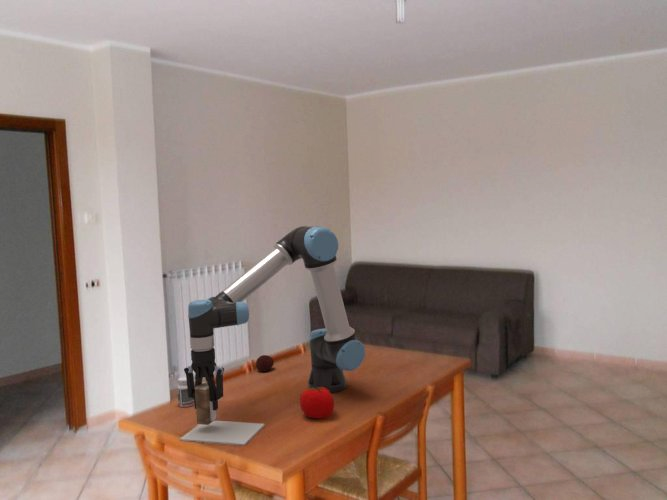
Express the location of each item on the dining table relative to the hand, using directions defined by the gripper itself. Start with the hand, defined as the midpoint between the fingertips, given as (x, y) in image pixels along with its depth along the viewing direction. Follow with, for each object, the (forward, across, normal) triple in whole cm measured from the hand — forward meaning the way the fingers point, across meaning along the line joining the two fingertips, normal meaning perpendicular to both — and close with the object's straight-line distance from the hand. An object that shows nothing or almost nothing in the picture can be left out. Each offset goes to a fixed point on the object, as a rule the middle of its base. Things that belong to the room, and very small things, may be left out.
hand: (207, 418), depth 190 cm
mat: (+4, -6, +1) cm, 7 cm away
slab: (+1, 0, 0) cm, 1 cm away
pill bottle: (+4, +20, -21) cm, 30 cm away
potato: (+4, +8, -66) cm, 67 cm away
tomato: (+4, -32, -18) cm, 37 cm away
